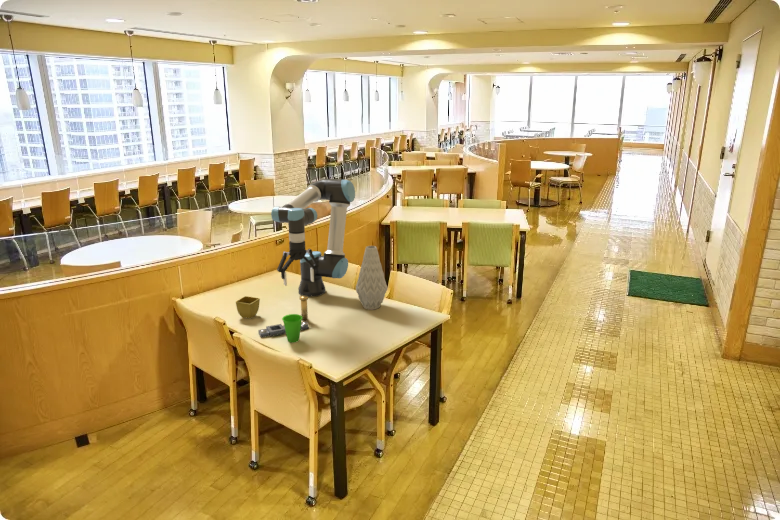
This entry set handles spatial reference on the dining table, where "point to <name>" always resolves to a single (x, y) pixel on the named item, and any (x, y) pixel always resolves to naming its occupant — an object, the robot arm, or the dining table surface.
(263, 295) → the dining table surface
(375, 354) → the dining table surface
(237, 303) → the flower pot
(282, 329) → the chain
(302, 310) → the brass pin
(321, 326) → the dining table surface
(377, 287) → the vase
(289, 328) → the cup
